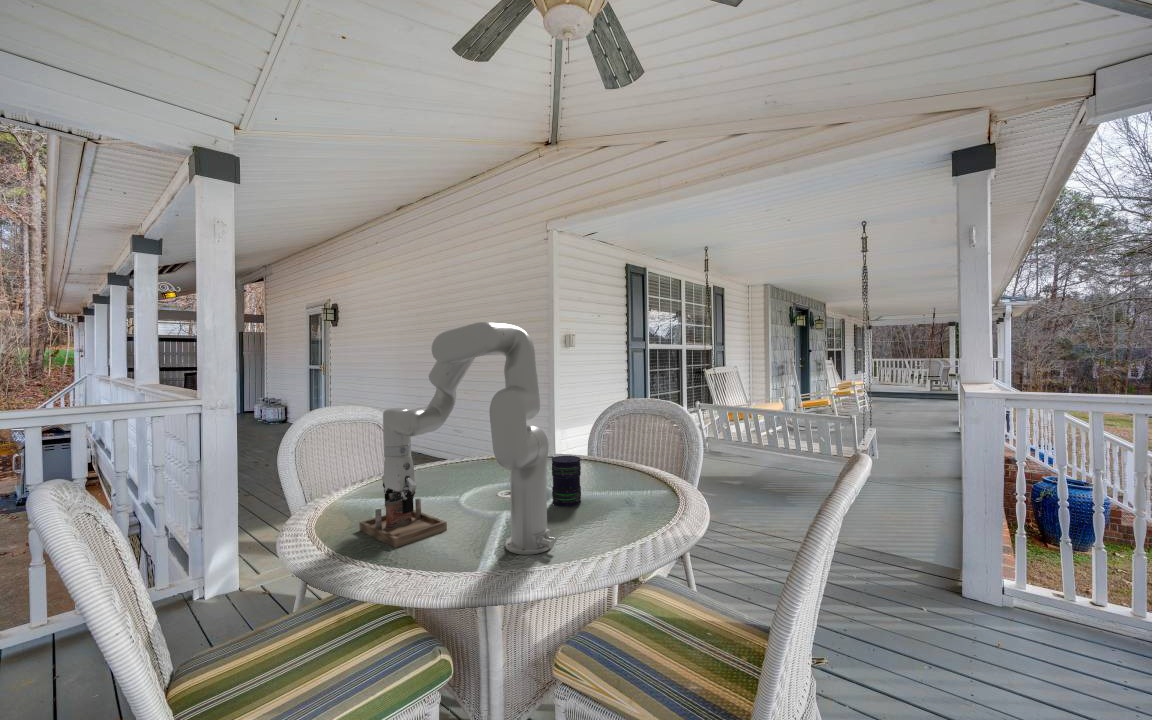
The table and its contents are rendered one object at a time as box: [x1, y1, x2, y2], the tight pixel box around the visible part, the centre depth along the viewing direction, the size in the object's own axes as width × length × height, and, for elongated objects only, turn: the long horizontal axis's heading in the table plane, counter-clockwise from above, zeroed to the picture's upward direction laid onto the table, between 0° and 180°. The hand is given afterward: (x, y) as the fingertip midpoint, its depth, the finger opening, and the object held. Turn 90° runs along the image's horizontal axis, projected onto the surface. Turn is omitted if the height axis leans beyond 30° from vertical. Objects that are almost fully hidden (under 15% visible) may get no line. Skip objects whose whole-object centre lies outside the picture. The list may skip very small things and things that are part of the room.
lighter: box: [384, 491, 412, 529], centre depth 143 cm, size 8×3×10 cm, turn 143°
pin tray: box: [359, 497, 448, 549], centre depth 141 cm, size 20×16×7 cm
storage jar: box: [551, 455, 582, 508], centre depth 164 cm, size 10×10×15 cm
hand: (399, 509), depth 143 cm, fingers open, 9 cm apart
